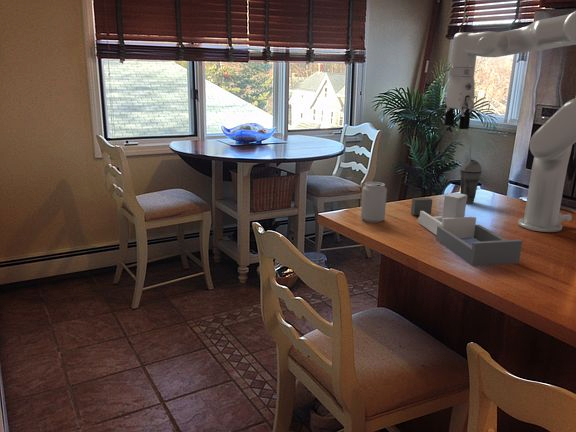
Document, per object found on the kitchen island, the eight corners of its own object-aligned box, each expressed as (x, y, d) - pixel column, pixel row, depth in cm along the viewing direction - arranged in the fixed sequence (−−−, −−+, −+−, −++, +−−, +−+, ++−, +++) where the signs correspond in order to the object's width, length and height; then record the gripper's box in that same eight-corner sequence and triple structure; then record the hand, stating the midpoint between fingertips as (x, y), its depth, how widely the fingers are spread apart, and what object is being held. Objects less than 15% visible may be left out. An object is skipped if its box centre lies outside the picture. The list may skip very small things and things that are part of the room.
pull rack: (433, 212, 178) (434, 195, 176) (473, 237, 153) (476, 217, 152) (405, 213, 176) (406, 196, 174) (441, 239, 152) (444, 219, 150)
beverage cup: (480, 205, 189) (487, 149, 183) (459, 204, 189) (466, 149, 183) (473, 199, 196) (480, 146, 190) (454, 199, 196) (460, 145, 190)
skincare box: (453, 238, 154) (457, 198, 150) (439, 234, 156) (444, 195, 153) (463, 233, 158) (467, 194, 154) (450, 230, 161) (454, 191, 157)
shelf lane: (477, 237, 154) (480, 217, 153) (519, 263, 136) (522, 240, 134) (435, 239, 152) (438, 219, 150) (472, 265, 133) (475, 243, 131)
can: (384, 224, 165) (386, 186, 162) (360, 222, 166) (362, 185, 163) (384, 217, 172) (387, 181, 169) (361, 215, 174) (363, 180, 170)
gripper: (487, 74, 162) (480, 130, 167) (459, 72, 178) (453, 123, 183) (465, 74, 161) (458, 130, 166) (438, 72, 177) (433, 123, 182)
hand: (456, 127), depth 174 cm, fingers open, 9 cm apart
